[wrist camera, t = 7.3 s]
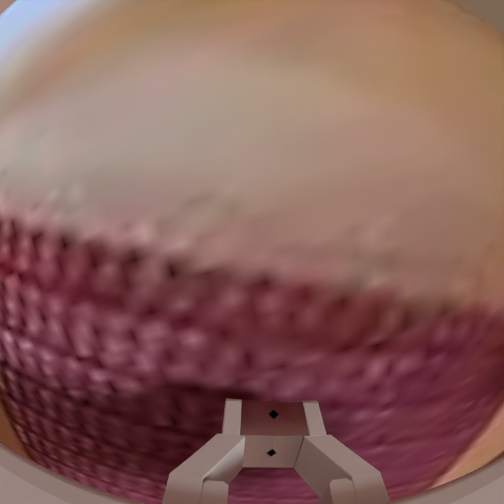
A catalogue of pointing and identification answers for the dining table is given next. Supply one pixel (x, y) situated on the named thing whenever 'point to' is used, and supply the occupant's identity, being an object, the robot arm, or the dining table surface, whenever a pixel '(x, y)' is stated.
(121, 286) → the dining table surface
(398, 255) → the dining table surface
